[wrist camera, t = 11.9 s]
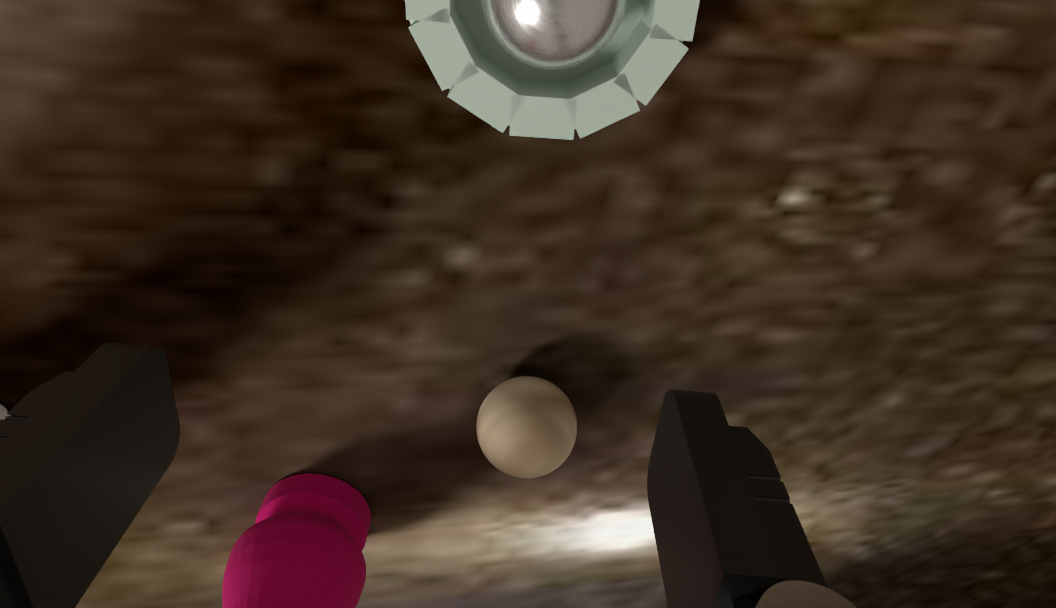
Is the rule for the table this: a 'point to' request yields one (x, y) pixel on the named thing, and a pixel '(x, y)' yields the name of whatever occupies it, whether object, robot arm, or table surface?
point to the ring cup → (551, 95)
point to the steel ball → (553, 29)
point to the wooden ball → (526, 427)
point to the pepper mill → (301, 548)
